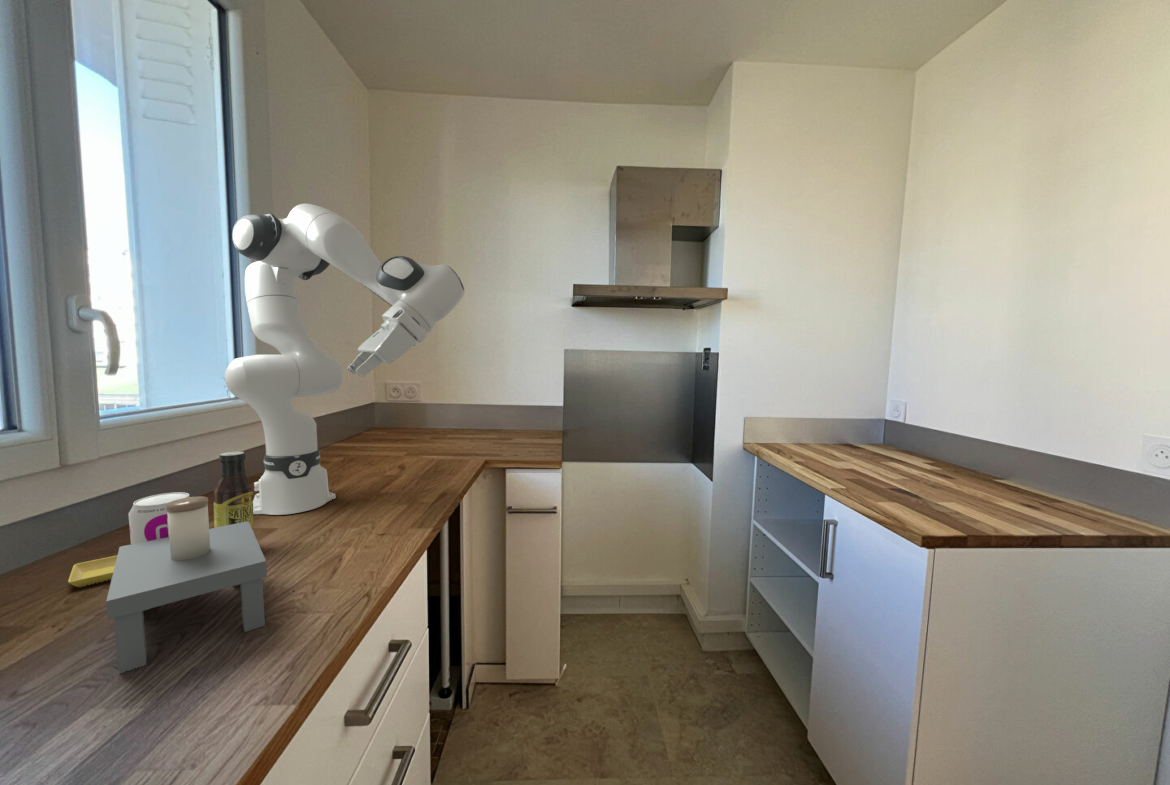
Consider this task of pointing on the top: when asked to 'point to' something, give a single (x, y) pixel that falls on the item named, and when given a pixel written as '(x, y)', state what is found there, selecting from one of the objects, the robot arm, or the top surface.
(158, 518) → the supplement can
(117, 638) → the footstool
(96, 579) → the yellow shallow tray
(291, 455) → the robot arm
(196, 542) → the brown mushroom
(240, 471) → the sauce bottle
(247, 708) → the top surface
